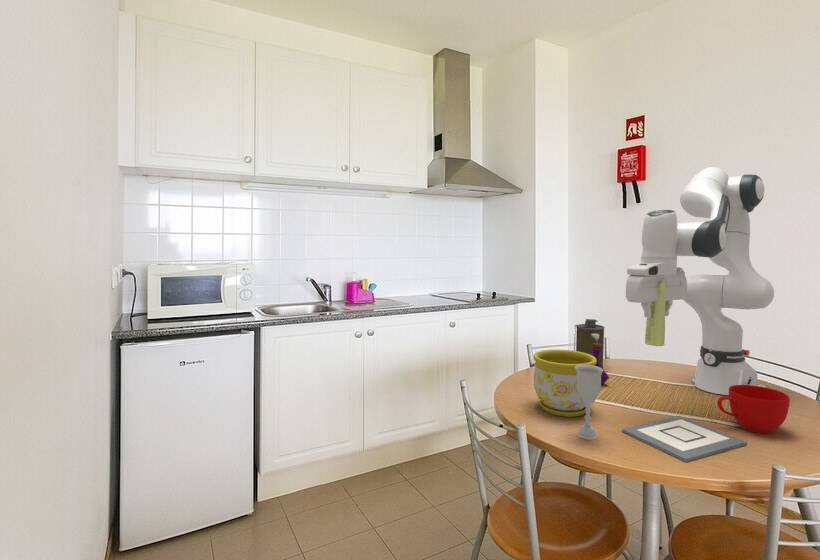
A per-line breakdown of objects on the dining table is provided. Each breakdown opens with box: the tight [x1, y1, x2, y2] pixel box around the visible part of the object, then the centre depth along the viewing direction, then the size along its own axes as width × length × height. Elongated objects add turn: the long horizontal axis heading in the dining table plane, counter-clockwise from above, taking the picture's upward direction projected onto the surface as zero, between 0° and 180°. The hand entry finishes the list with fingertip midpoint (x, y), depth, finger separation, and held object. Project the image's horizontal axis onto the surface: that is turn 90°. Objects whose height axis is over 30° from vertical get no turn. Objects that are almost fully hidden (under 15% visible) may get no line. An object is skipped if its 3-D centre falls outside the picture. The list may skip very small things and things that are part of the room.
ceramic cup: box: [717, 385, 791, 434], centre depth 120 cm, size 13×17×10 cm
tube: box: [644, 278, 666, 347], centre depth 126 cm, size 6×5×20 cm
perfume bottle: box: [591, 334, 610, 386], centre depth 158 cm, size 8×8×18 cm
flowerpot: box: [533, 349, 597, 418], centre depth 134 cm, size 18×18×16 cm
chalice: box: [575, 365, 604, 441], centre depth 116 cm, size 7×7×18 cm
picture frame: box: [621, 415, 748, 463], centre depth 115 cm, size 22×18×1 cm
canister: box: [573, 318, 606, 369], centre depth 175 cm, size 11×10×20 cm
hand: (656, 316), depth 126 cm, fingers closed on tube, 5 cm apart
